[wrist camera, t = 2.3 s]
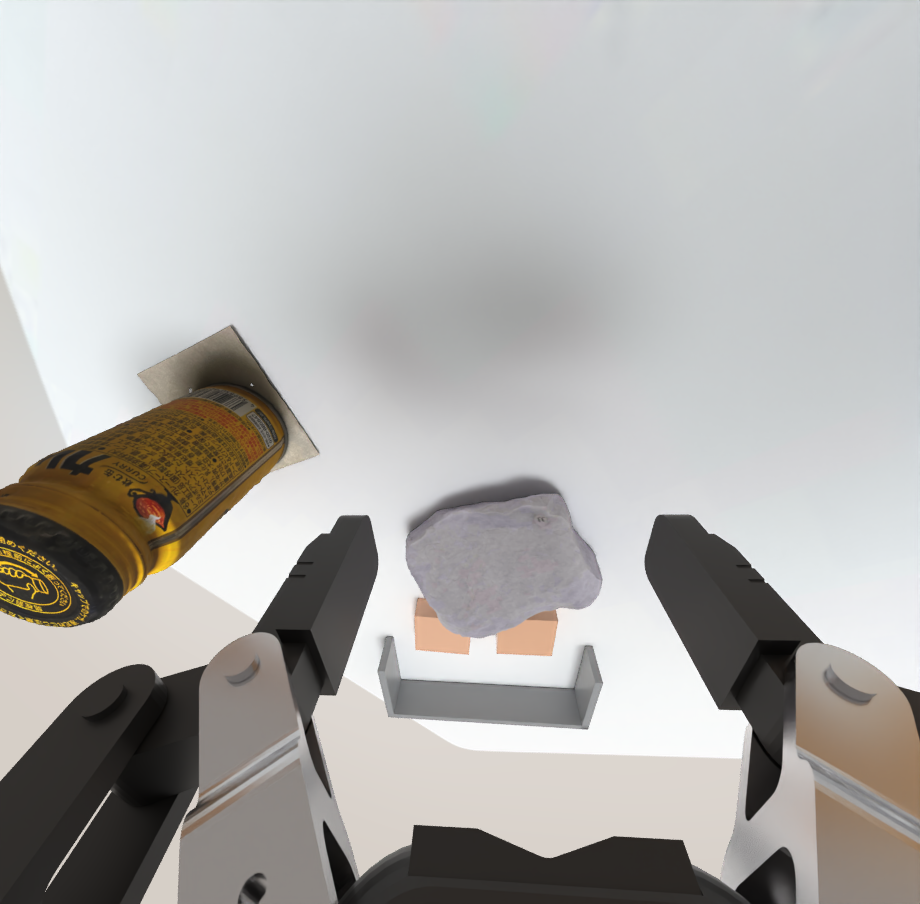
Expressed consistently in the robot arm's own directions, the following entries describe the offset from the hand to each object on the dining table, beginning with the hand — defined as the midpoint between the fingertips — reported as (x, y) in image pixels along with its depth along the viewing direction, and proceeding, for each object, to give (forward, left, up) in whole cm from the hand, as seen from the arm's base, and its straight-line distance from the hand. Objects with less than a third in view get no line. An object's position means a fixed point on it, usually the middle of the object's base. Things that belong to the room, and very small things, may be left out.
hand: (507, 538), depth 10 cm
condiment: (+1, -16, -12) cm, 20 cm away
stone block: (+11, 0, -12) cm, 16 cm away
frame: (+26, 0, -11) cm, 28 cm away
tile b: (+19, +3, -12) cm, 23 cm away
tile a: (+20, -4, -12) cm, 23 cm away
